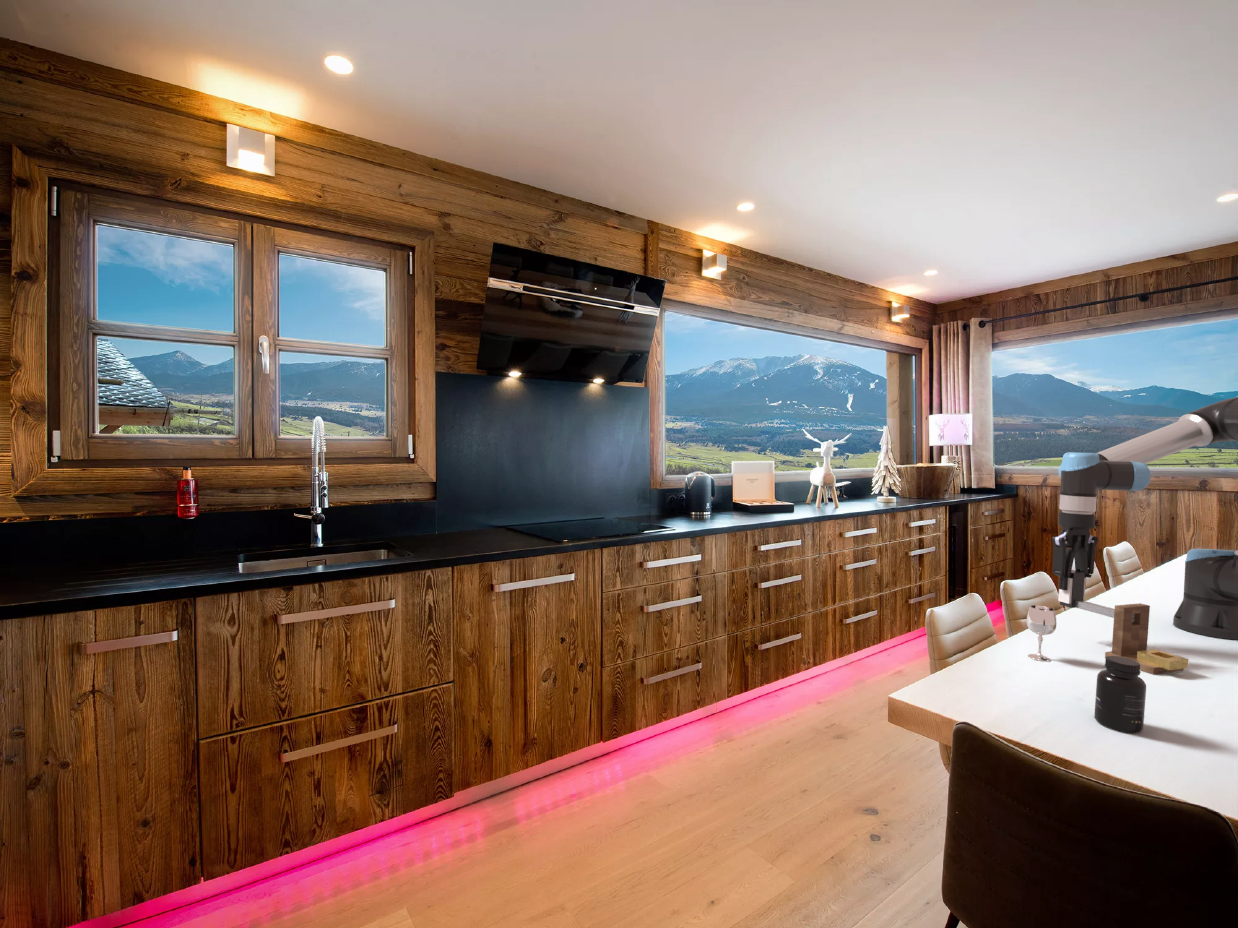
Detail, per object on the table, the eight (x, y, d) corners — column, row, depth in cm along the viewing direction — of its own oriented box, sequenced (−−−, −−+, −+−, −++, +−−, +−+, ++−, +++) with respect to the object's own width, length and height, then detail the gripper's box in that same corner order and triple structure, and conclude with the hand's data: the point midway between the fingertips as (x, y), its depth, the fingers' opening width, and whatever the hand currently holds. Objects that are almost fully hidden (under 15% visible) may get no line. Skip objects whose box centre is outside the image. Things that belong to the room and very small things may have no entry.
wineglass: (1059, 663, 138) (1062, 612, 137) (1031, 661, 139) (1034, 610, 138) (1046, 654, 143) (1049, 605, 143) (1020, 652, 144) (1023, 603, 144)
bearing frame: (1104, 658, 142) (1108, 604, 141) (1133, 654, 145) (1137, 601, 145) (1153, 674, 133) (1157, 616, 132) (1183, 670, 136) (1187, 614, 135)
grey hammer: (1059, 604, 155) (1062, 570, 155) (1070, 603, 157) (1073, 569, 156) (1126, 622, 141) (1128, 585, 140) (1137, 621, 142) (1140, 584, 141)
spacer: (1137, 651, 137) (1169, 661, 131) (1155, 649, 139) (1188, 659, 133) (1136, 659, 137) (1169, 670, 131) (1154, 657, 139) (1187, 667, 133)
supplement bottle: (1084, 716, 111) (1088, 653, 110) (1118, 716, 111) (1122, 653, 111) (1118, 734, 104) (1122, 667, 103) (1154, 734, 104) (1158, 667, 104)
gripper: (1085, 509, 160) (1079, 596, 161) (1038, 510, 154) (1032, 599, 155) (1115, 513, 152) (1110, 603, 154) (1067, 514, 147) (1062, 607, 148)
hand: (1071, 601), depth 154 cm, fingers closed on grey hammer, 4 cm apart
